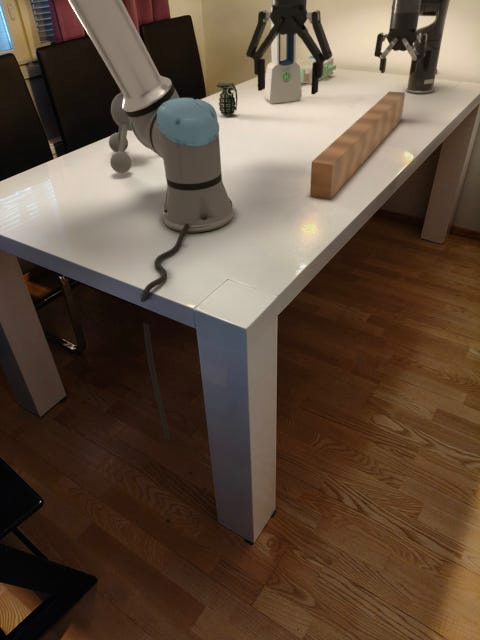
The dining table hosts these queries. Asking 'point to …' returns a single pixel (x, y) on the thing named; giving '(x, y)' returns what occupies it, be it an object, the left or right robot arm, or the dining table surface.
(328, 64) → the decorative block
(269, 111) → the dining table surface
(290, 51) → the electronic device
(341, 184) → the beam
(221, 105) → the grenade
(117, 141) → the molecular model
